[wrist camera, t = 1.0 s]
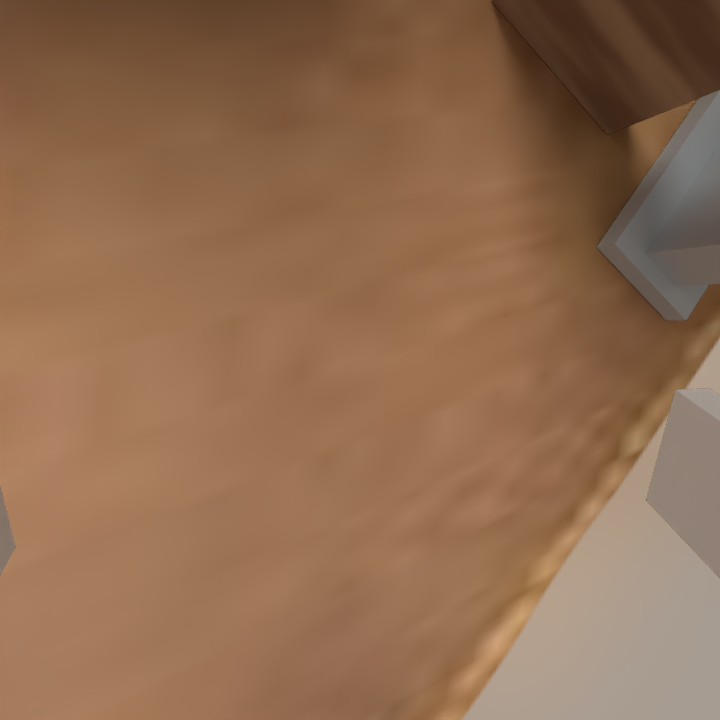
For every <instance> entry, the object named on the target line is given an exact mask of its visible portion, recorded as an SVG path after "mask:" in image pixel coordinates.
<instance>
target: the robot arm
mask: <svg viewBox="0 0 720 720" xmlns="http://www.w3.org/2000/svg"><path fill="white" fill-rule="evenodd" d="M646 501H647V502H648V503H649V504H650V505H651V506H652V507H653V508H654V509H655V510H656V511H657V512H658V513H659V514H660V515H661V516H662V518H663V519H664V520H665V521H666V522H667V523H668V524H669V525H670V526H671V527H672V528H673V529H674V530H675V531H676V532H677V533H678V534H679V535H680V537H681V538H682V539H683V540H684V541H685V542H686V543H687V544H688V545H689V546H690V547H691V548H692V549H693V550H694V551H695V552H696V553H697V555H698V556H699V557H700V558H701V559H702V560H703V561H704V562H705V563H706V564H707V565H708V566H709V567H710V568H711V569H712V570H713V571H714V573H716V575H717V576H718V577H719V578H720V395H719V394H717V393H716V392H715V391H713V390H711V389H710V388H703V389H702V388H701V389H678V390H675V394H674V397H673V401H672V405H671V409H670V412H669V416H668V420H667V424H666V427H665V431H664V435H663V439H662V442H661V446H660V450H659V453H658V458H657V461H656V465H655V469H654V472H653V476H652V480H651V483H650V487H649V491H648V495H647V498H646ZM15 547H16V546H15V542H14V538H13V534H12V530H11V526H10V523H9V519H8V515H7V511H6V507H5V503H4V499H3V495H2V492H1V488H0V575H1V573H2V571H3V569H4V567H5V566H6V564H7V562H8V560H9V558H10V556H11V555H12V553H13V551H14V549H15Z"/></svg>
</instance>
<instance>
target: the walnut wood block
mask: <svg viewBox="0 0 720 720" xmlns="http://www.w3.org/2000/svg"><path fill="white" fill-rule="evenodd" d="M492 2H493V4H494V5H495V6H496V7H497V8H498V9H499V10H500V12H501V13H502V14H503V15H504V16H505V17H506V19H507V20H508V21H509V22H510V23H511V24H512V25H513V27H514V28H515V29H516V30H517V31H518V32H519V34H520V35H521V36H522V37H523V38H524V39H525V40H526V42H527V43H528V44H529V45H530V46H531V47H532V49H533V50H534V51H535V52H536V53H537V54H538V55H539V57H540V58H541V59H542V60H543V61H544V62H545V64H546V65H547V66H548V67H549V68H550V69H551V70H552V72H553V73H554V74H555V75H556V76H557V77H558V79H559V80H560V81H561V82H562V83H563V84H564V86H565V87H566V88H567V89H568V90H569V91H570V92H571V94H572V95H573V96H574V97H575V98H576V99H577V101H578V102H579V103H580V104H581V105H582V106H583V107H584V109H585V110H586V111H587V112H588V113H589V114H590V116H591V117H592V118H593V119H594V120H595V121H596V122H597V124H598V125H599V126H600V127H601V128H602V129H603V131H604V132H605V133H606V134H607V135H608V134H610V133H613V132H615V131H618V130H620V129H623V128H625V127H628V126H630V125H633V124H635V123H638V122H640V121H643V120H645V119H648V118H650V117H653V116H655V115H658V114H660V113H663V112H666V111H668V110H671V109H673V108H676V107H678V106H681V105H683V104H686V103H688V102H691V101H693V100H696V99H698V98H701V97H703V96H706V95H708V94H711V93H713V92H716V91H718V90H720V0H492Z"/></svg>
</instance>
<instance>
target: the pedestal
mask: <svg viewBox="0 0 720 720" xmlns="http://www.w3.org/2000/svg"><path fill="white" fill-rule="evenodd" d="M597 248H598V249H599V250H600V251H601V252H602V253H603V254H604V256H605V257H606V258H607V259H608V260H609V261H610V262H611V263H612V264H613V265H614V266H615V267H616V268H617V269H618V270H619V271H620V272H621V273H622V274H623V276H624V277H625V278H626V279H627V280H628V281H629V282H630V283H631V284H632V285H633V286H634V287H635V288H636V289H637V290H638V291H639V292H640V293H641V295H642V296H643V297H644V298H645V299H646V300H647V301H648V302H649V303H650V304H651V305H652V306H653V307H654V308H655V309H656V310H657V311H658V312H659V313H660V315H661V316H662V317H663V318H664V319H665V320H682V321H686V320H687V318H688V317H689V315H690V314H691V312H692V311H693V309H694V308H695V306H696V304H697V303H698V301H699V300H700V298H701V297H702V295H703V294H704V292H705V291H706V289H707V287H708V286H709V285H713V284H720V90H718V91H716V92H713V93H711V94H708V95H706V96H703V97H701V98H699V99H698V100H697V102H696V103H695V105H694V106H693V108H692V109H691V110H690V112H689V113H688V115H687V116H686V118H685V119H684V121H683V122H682V123H681V125H680V126H679V128H678V129H677V131H676V132H675V134H674V135H673V137H672V138H671V139H670V141H669V142H668V144H667V145H666V147H665V148H664V150H663V151H662V152H661V154H660V155H659V157H658V158H657V160H656V161H655V163H654V164H653V166H652V167H651V168H650V170H649V171H648V173H647V174H646V176H645V177H644V179H643V180H642V181H641V183H640V184H639V186H638V187H637V189H636V190H635V192H634V193H633V195H632V196H631V197H630V199H629V200H628V202H627V203H626V205H625V206H624V208H623V209H622V210H621V212H620V213H619V215H618V216H617V218H616V219H615V221H614V222H613V224H612V225H611V226H610V228H609V229H608V231H607V232H606V234H605V235H604V237H603V238H602V240H601V241H600V242H599V244H598V245H597Z"/></svg>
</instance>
